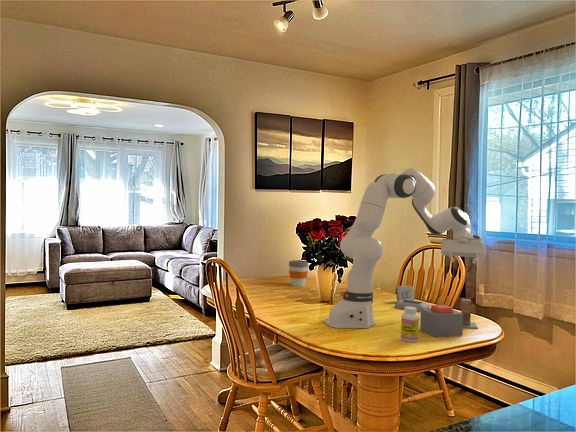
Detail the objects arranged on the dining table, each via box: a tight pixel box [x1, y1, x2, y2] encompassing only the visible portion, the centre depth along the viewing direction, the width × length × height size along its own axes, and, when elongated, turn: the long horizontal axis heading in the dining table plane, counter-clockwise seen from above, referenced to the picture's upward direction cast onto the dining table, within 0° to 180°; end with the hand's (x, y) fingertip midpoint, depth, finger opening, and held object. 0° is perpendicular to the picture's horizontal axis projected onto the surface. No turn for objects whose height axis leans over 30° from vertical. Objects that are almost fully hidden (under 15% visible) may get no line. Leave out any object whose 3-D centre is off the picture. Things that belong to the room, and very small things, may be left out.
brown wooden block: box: [460, 298, 472, 325], centre depth 210 cm, size 4×4×11 cm
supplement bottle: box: [400, 306, 420, 343], centre depth 185 cm, size 7×7×13 cm
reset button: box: [430, 304, 454, 314], centre depth 197 cm, size 6×6×5 cm
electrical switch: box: [395, 285, 416, 303], centre depth 255 cm, size 9×5×9 cm, turn 104°
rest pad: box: [463, 321, 479, 330], centre depth 210 cm, size 9×9×1 cm
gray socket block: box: [419, 307, 464, 338], centre depth 197 cm, size 13×11×9 cm
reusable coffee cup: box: [288, 259, 309, 287], centre depth 300 cm, size 13×13×15 cm
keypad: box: [394, 299, 431, 313], centre depth 242 cm, size 10×4×15 cm
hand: (463, 262), depth 221 cm, fingers open, 8 cm apart
